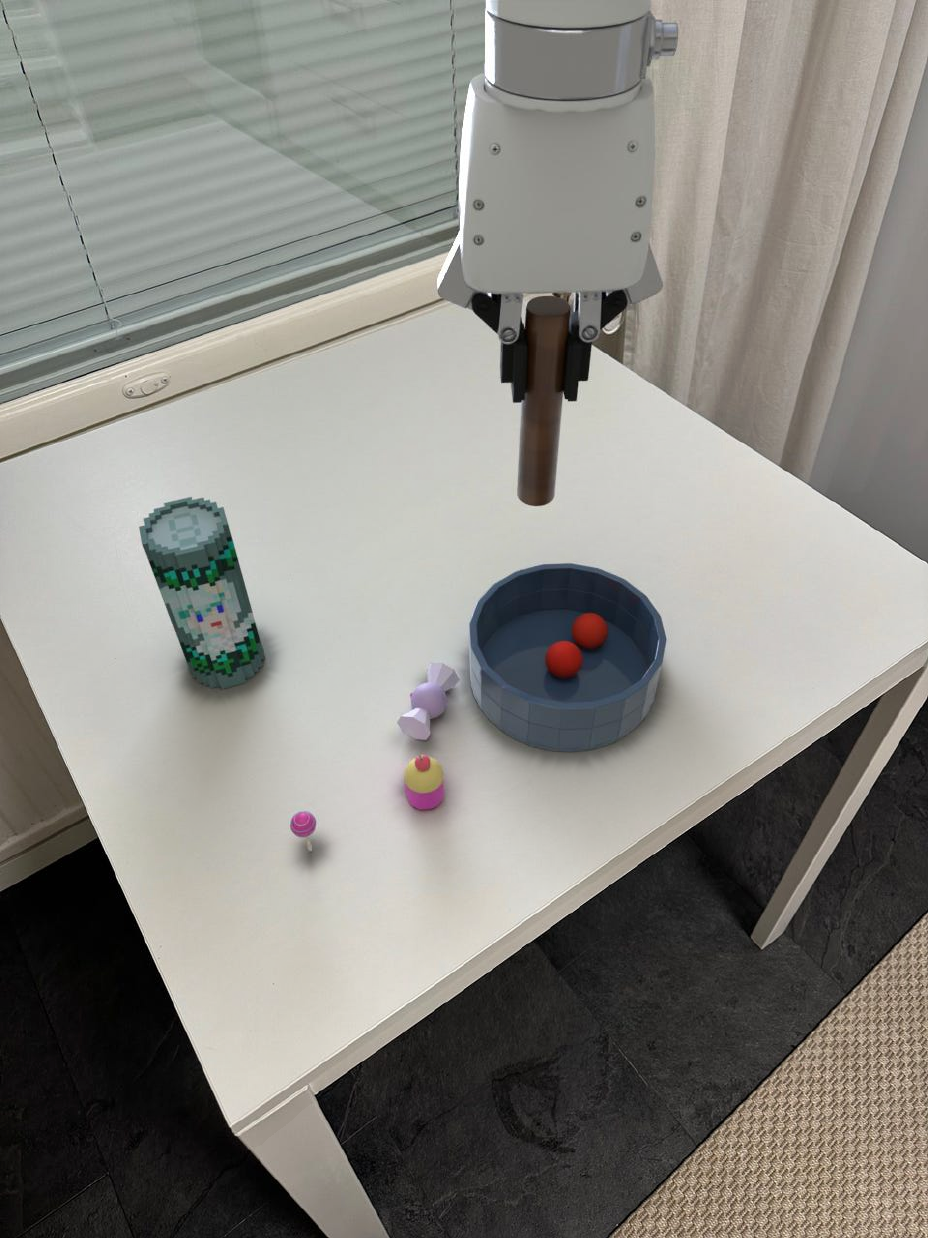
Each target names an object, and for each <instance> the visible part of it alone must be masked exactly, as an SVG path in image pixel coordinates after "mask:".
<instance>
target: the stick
mask: <svg viewBox="0 0 928 1238" xmlns="http://www.w3.org/2000/svg"><path fill="white" fill-rule="evenodd" d="M571 309H572V308H571V304H570V303H569V302H568V300H566V299H564V298H562V297H560V296H556V295H540V296H535V297H533V298H531V299H529V300H528V301H527V302H526V304H525V310H524V311H525V314H524V328H525V336H526V342H527V363H526V383H525V400H522V401H521V404H520V419H519V420H520V424H519V441H518V442H519V444H518V446H519V447H518V467H517V470H518V471H517V486H516V487H517V488H516V495H517V498H518V500H519V501H520V502H522V503H523V504H525V505H527V506H532V507H542V506H546V505H548V504H551V502H552V501H554V498H555V493H556V485H557V472H558V471H557V470H558V461H559V449H560V448H559V447H560V436H561V424H562V413H563V400H564V393H563V388H564V376H565V364H566V352H567V340H568V332H569V321H570V315H571Z"/></svg>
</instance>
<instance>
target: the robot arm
mask: <svg viewBox="0 0 928 1238" xmlns="http://www.w3.org/2000/svg"><path fill="white" fill-rule="evenodd" d="M651 2H652V0H485V47H484V48H485V49H484V50H485V57H484V58H485V59H484V60H485V62H484V72H483V73H479V74H477V75H475V76H474V77H472V78H471V80H470V81H469V87H468V92H467V97H466V103H465V108H464V109H465V110H464V116H463V124H462V125H463V126H462V133H461V134H462V135H461V146H460V147H461V148H460V163H459V164H460V165H459V190H458V191H459V192H458V235H457V236H456V239H455V241H454V242H453V246H452V247H451V249H450V251H449V253H448V256H447V257H446V259H445V262H444V264H443V266H442V268H441V271H440V272H439V274H438V277H437V281H436V282H437V283H436V284H437V294H438V296H439V297H440V298H441V299H443V300H445V301H447V302H450V303H452V304H454V305H456V306H458V307H461V308H464V309H468V310H471V311H472V312H473V314H474V315H476V316H477V317H478V318H479V320H481V321H483V323H485V325H487V326H488V327H489V328H490V329H491V330H492V331H493V332H494V333H496V334H497V336H498V337H497V338H498V339H499V341H500V348H499V349H500V354H499V356H500V358H499V378H500V384H510V389H511V399H512V403H513V404H519V403H521V401H522V400H525V383H526V363H527V342H526V336H525V322H523V320H522V319H523V318H522V311H523V303H524V302H523V301H524V295H532V294H533V295H536V294H537V295H538V294H541V295H542V294H573V312H572V314H571V313H570V321H569V332H568V340H567V352H566V364H565V376H564V388H563V399H564V400H567V402H577V401H578V393H579V383H580V382H589V381H588V380H589V377H590V376H589V375H590V367H591V366H590V365H591V356H592V347H593V343H594V342H595V341H597V340H598V339H599V337H600V335H601V330H603V328H604V329H605V327H606V326H608V325H609V324H610V322H612V321H613V320H614V319H616V318H617V317H618V316H619V315H620V314H621V313H623V312H624V311H625V310H626V309H627V307H628V306H631V305H632V306H633V305H635V304H637V303H640V302H642V301H644V300H646V299H648V298H651V297H653V296H656V295H658V294H659V293H661V291H662V290H663V287H664V283H663V279H662V276H661V274H660V271H659V268H658V265H657V263H656V259H655V256H654V254H653V250H652V248H651V245H650V236H651V228H652V227H651V225H652V215H653V213H652V212H653V197H654V180H655V179H654V177H655V156H656V118H655V117H656V116H655V97H654V86H653V81H652V79H651V78H650V77H649V76H648V75H646V74H647V67H651V62H652V60H659V59H660V57H674V56H675V55H676V53H677V48H678V42H679V25H678V22H663V19H656V17H655V16H654V14H653V13H652V11H651V4H652V3H651Z"/></svg>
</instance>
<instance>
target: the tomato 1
mask: <svg viewBox="0 0 928 1238" xmlns="http://www.w3.org/2000/svg"><path fill="white" fill-rule="evenodd" d="M582 661H583V659H582V654H581V651H580V650H579V648H578V647H577V646H576V645H575V644H573V643H571V642H568V641H560V642H557V643H555V644H553V645H552V646H551V647H550V648H549V649H548V651H547V653H546V657H545V662H546V666H547V668H548V670H549V671H550V672H551V673H552V674H553V675H554V676H556V677H559V678H569V677H572V676H574V675H575V674H576V673H577V672H578V671H579V670H580V668H581V666H582Z"/></svg>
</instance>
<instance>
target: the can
mask: <svg viewBox="0 0 928 1238" xmlns="http://www.w3.org/2000/svg"><path fill="white" fill-rule="evenodd" d="M143 524H144V525H140V526H138V528H139V529H138V530H139V534H140V540H141V546H142V548H143V550H144V553H145V556H146V559H147V561H148V564H149V566H150V568H151V571H152V575H153V577H154V579H155V582H156V585H157V587H158V589H159V592H160V595H161V598H162V601H163V603H164V606H165V608H166V611H167V614H168V616H169V619H170V622H171V624H172V627H173V630H174V633H175V636H176V638H177V640H178V642H179V646H180V648H181V651H182V652H183V656H184V659H185V662H186V664H187V667H188V670H189V672H190V675H191V678H192V679H197V681H198V684H199V685H202V684H203V685H204V687H207V686H209V687H210V689H215V688H218V687H220V689H221V690H225V689H228V688H232V687H236V686H239V685H242V684H247V681H246V680H247V679H250V678H255V673H258V672H259V668H262V667H263V663H262V660H265V659H266V655H265V652H264V648H263V645H262V641H261V637H260V634H259V629H258V626H257V622H256V620H255V616H254V613H253V608H252V605H251V601H250V598H249V593H248V591H247V587H246V584H245V579H244V575H243V572H242V569H241V565H240V561H239V557H238V554H237V550H236V547H235V543H234V540H233V536H232V533H231V529H230V525H229V521H228V517H227V515H226V510H225V508H224V506H222V507H218V503H217V501H211V500H210V499H207V500H205V498H204V497H199V498H195V499H193V497H192V496H189V497H185V498H180V499H176V500H171V501H168V502H164V503H163V506H161V507H156V508H153V512H149V513H148V517H143Z"/></svg>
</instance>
